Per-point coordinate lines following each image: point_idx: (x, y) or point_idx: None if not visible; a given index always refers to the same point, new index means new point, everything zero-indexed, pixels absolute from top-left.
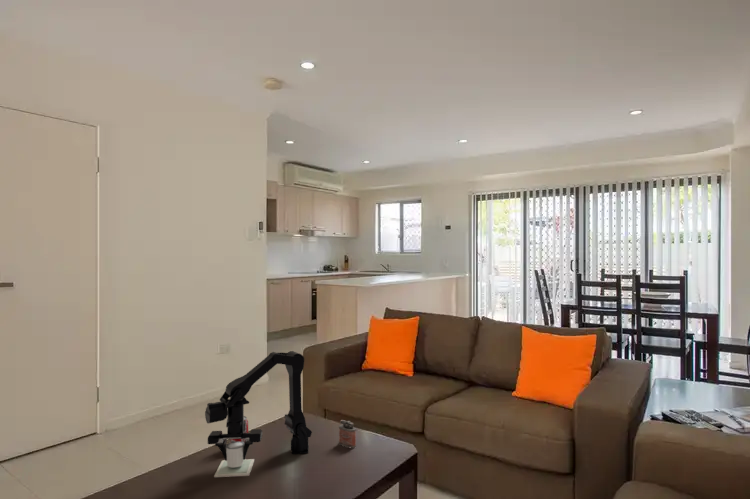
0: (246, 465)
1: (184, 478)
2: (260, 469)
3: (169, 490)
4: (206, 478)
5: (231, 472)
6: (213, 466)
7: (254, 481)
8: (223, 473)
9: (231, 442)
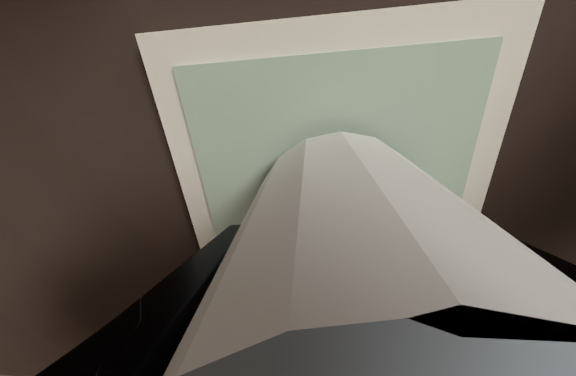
0: (439, 181)
1: (41, 291)
2: (553, 204)
3: None
4: None
5: None
6: (116, 138)
7: None
8: None
9: (208, 366)
